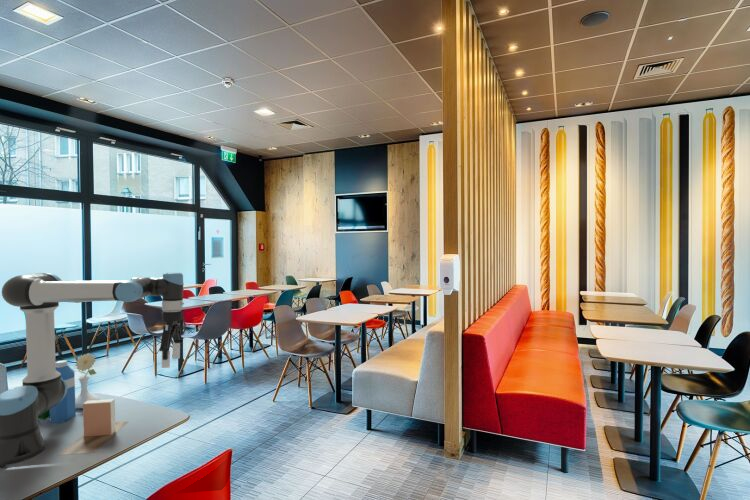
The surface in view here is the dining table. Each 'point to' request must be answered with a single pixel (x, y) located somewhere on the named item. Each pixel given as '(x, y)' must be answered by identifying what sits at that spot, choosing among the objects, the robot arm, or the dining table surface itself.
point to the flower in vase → (85, 380)
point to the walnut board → (90, 442)
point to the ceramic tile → (99, 417)
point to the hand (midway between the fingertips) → (171, 362)
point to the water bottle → (67, 405)
